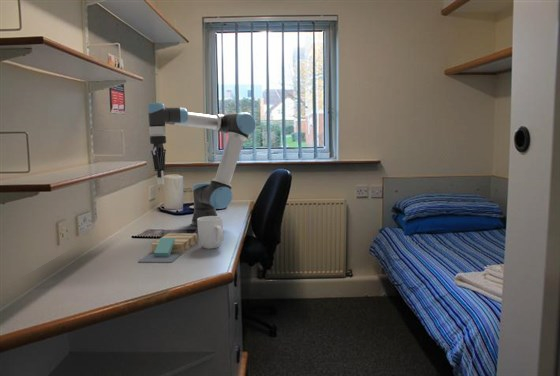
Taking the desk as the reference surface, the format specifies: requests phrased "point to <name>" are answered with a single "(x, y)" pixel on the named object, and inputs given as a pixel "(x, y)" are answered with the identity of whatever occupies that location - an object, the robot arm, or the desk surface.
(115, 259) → the desk surface
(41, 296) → the desk surface
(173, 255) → the mat
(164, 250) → the teal rectangular block
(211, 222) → the mug
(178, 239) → the board
